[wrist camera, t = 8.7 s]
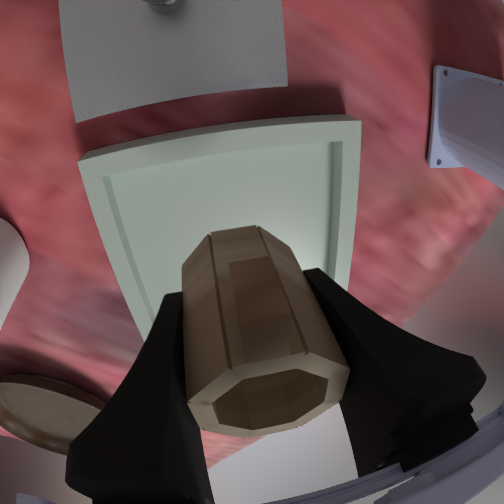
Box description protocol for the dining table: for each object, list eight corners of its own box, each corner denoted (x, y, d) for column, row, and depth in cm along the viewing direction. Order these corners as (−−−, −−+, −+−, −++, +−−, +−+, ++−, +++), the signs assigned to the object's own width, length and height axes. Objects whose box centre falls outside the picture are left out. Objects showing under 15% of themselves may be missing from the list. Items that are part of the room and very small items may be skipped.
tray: (346, 114, 18) (361, 120, 17) (334, 303, 27) (342, 318, 26) (87, 151, 17) (77, 161, 15) (151, 336, 26) (150, 354, 24)
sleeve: (290, 185, 11) (368, 295, 6) (291, 304, 15) (335, 417, 10) (166, 204, 11) (156, 335, 6) (195, 321, 14) (208, 443, 9)
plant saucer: (167, 429, 36) (168, 451, 33) (66, 447, 38) (65, 464, 35) (48, 338, 24) (39, 366, 22) (-36, 376, 26) (-43, 396, 23)
